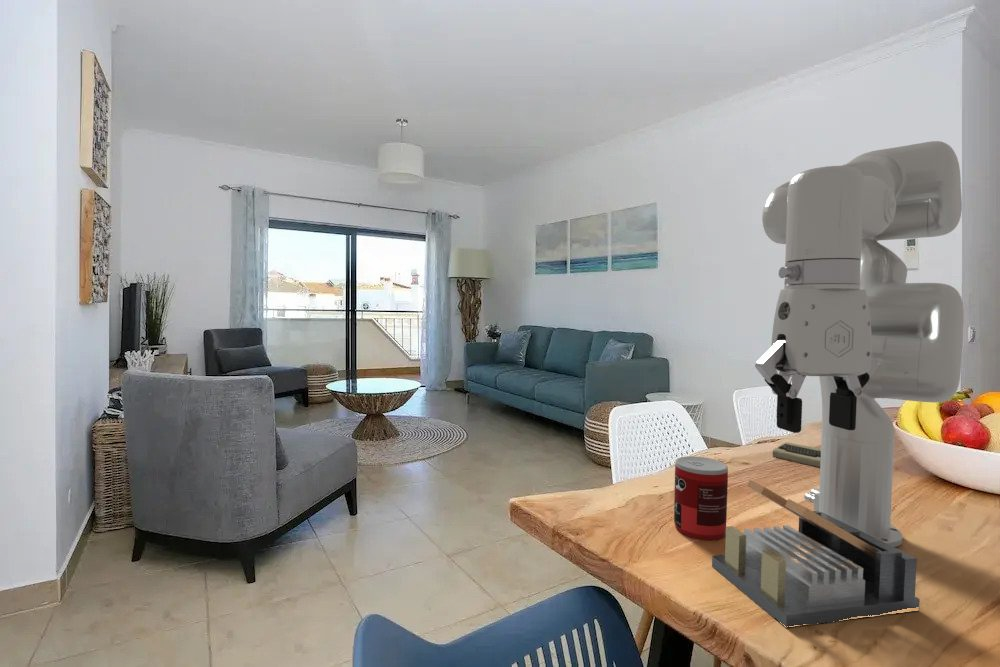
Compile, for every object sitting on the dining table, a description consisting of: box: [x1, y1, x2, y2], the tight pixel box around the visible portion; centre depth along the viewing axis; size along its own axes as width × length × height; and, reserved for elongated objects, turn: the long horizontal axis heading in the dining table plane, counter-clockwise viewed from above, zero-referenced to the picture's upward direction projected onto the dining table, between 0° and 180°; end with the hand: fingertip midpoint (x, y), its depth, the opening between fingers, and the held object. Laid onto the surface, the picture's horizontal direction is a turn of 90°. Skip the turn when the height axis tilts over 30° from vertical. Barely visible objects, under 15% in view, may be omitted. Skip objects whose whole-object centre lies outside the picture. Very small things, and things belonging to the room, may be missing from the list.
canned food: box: [673, 455, 729, 541], centre depth 83 cm, size 8×8×11 cm
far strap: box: [746, 479, 832, 536], centre depth 69 cm, size 4×13×1 cm, turn 101°
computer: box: [772, 442, 821, 468], centre depth 121 cm, size 16×8×3 cm, turn 38°
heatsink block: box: [711, 510, 921, 627], centre depth 66 cm, size 14×18×7 cm
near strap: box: [785, 498, 882, 559], centre depth 62 cm, size 4×13×1 cm, turn 101°
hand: (815, 427), depth 61 cm, fingers open, 6 cm apart
